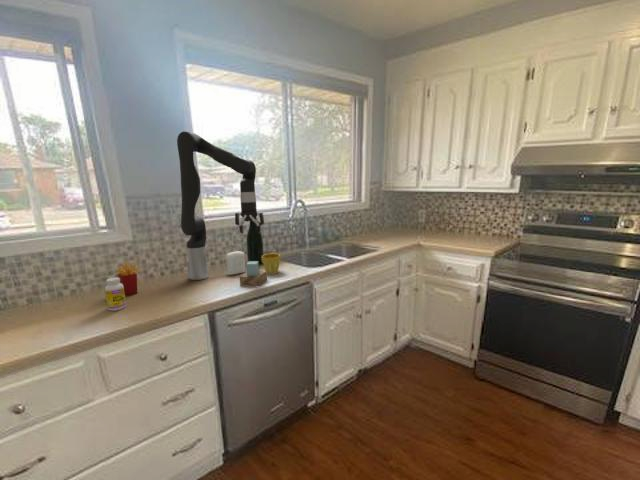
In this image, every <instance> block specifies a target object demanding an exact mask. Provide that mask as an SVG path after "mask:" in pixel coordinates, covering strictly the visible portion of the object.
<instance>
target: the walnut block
mask: <svg viewBox="0 0 640 480" xmlns="http://www.w3.org/2000/svg"><path fill="white" fill-rule="evenodd" d="M267 276H268V274H267V273H266V271H265V270H263V271H260V270H259V274H258V275H257V276H247V271H245V272H243V273H242V274H241V275H240V276H239V286H242V287H255V286H259V287H260V286H261V284H262V285H263V284H264V283H266V282H267V280H268V277H267Z"/></svg>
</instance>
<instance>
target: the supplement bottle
mask: <svg viewBox="0 0 640 480" xmlns="http://www.w3.org/2000/svg"><path fill="white" fill-rule="evenodd" d="M105 282H106V286H105V287H104V292H105V299H106V305H107V310H109V311H114V312H115V311H119V310H120V311H121V310H122V309H123V310H124V309H125V308H126V306H127V301H126V296H125V293H124V286H123V284H121V283H120V278H118V276H117V277H110V278H107V279H106V281H105Z"/></svg>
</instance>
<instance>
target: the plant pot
mask: <svg viewBox="0 0 640 480" xmlns="http://www.w3.org/2000/svg"><path fill="white" fill-rule="evenodd" d="M280 263H281V254H279V253H264V255H263V256H262V263H261V264H263V267H264V272H266V273H267V275H275V274H277V273H278V272H279V267H280Z"/></svg>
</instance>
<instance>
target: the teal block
mask: <svg viewBox="0 0 640 480" xmlns="http://www.w3.org/2000/svg"><path fill="white" fill-rule="evenodd" d="M245 270H246V272H247V276H257V275H258V274H259V271H260V264H259V263H258V261H249V262H248V261H247V263H245Z"/></svg>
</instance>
